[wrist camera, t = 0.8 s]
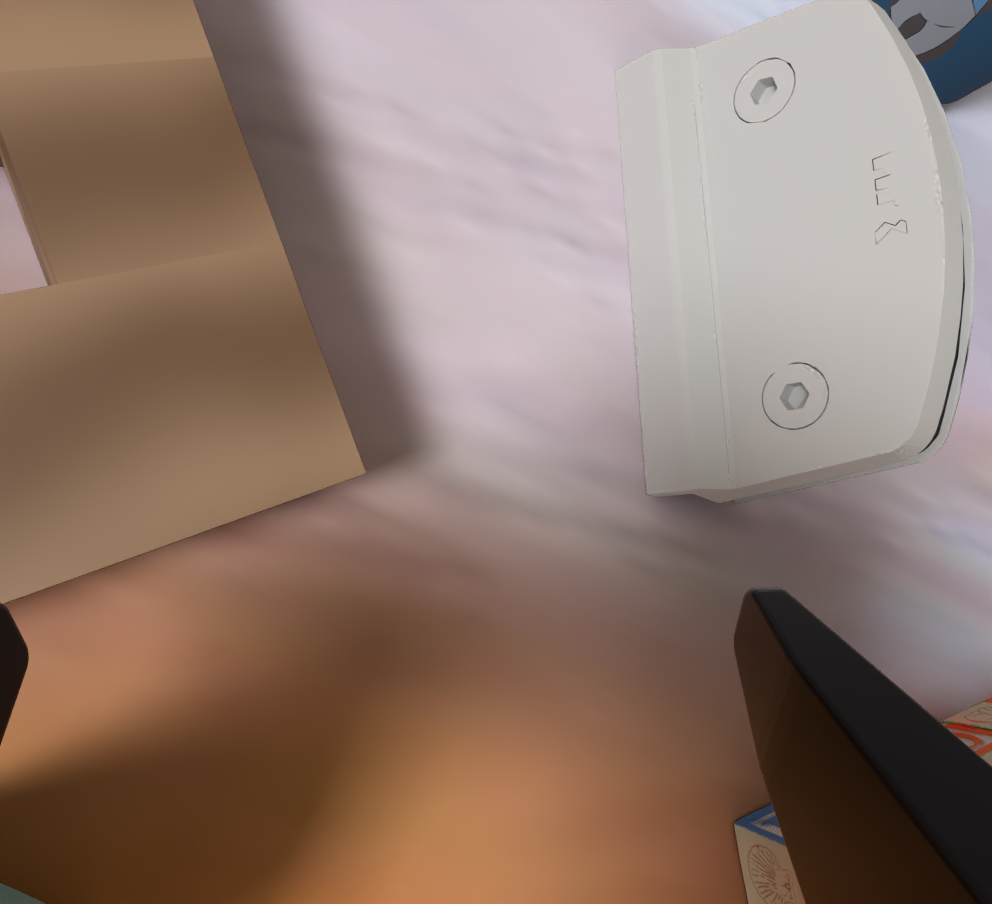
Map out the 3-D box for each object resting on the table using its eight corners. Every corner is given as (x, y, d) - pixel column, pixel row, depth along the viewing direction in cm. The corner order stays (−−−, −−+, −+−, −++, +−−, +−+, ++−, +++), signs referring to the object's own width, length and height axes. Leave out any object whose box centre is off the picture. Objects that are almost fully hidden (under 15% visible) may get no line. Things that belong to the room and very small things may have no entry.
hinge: (613, 61, 29) (903, -104, 22) (678, 109, 32) (946, -20, 25) (646, 506, 26) (978, 477, 20) (712, 506, 30) (1014, 482, 23)
